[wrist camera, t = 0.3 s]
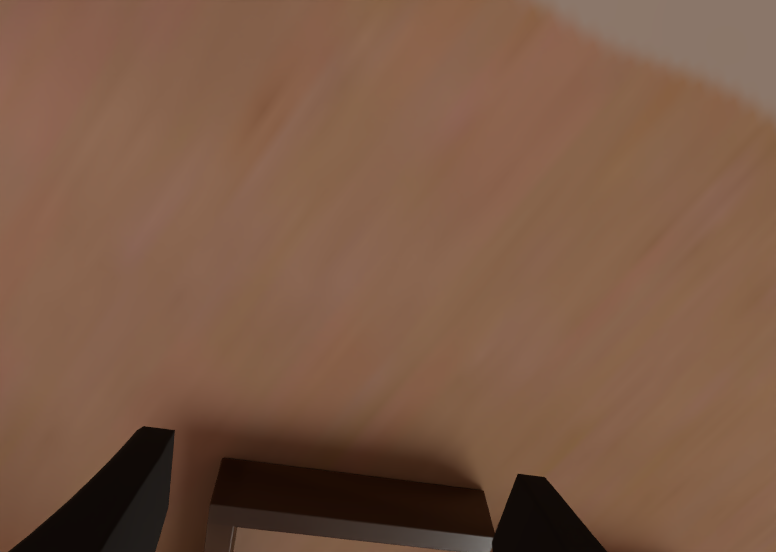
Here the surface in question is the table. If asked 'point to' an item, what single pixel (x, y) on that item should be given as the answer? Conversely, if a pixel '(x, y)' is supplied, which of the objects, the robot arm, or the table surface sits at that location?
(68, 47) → the table surface
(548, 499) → the robot arm
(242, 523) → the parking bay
